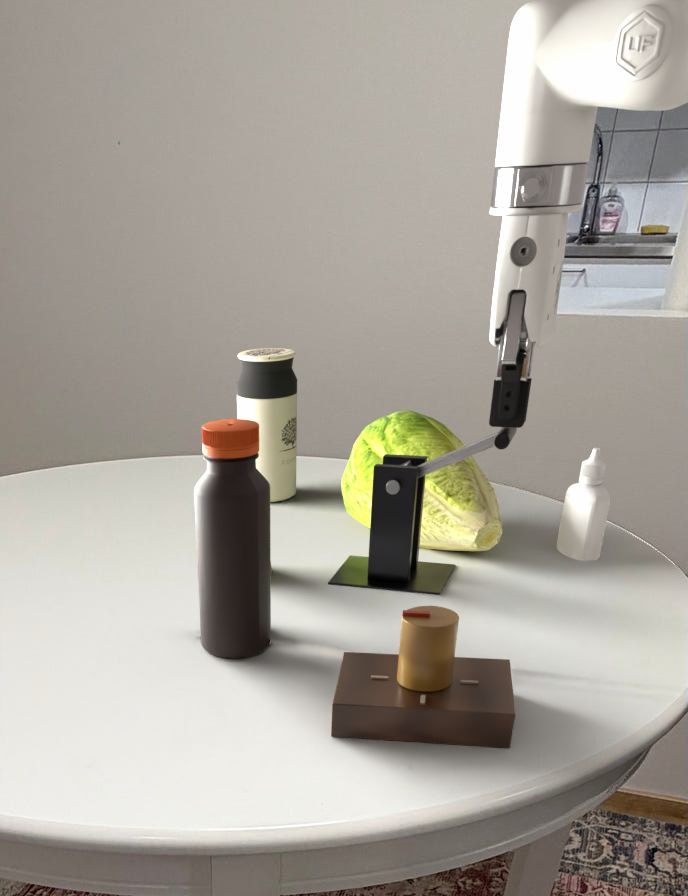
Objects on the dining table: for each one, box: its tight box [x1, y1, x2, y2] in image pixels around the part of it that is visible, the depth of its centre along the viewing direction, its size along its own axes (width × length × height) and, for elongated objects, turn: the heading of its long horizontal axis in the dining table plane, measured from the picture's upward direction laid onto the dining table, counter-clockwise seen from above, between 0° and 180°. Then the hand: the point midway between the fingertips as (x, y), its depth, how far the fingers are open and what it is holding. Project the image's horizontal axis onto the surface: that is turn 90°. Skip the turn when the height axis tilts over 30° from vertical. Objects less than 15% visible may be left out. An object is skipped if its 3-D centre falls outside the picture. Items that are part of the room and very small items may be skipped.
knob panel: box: [330, 651, 516, 749], centre depth 79 cm, size 14×10×3 cm
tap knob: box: [397, 605, 460, 692], centre depth 76 cm, size 4×4×6 cm
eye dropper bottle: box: [556, 447, 611, 562], centre depth 104 cm, size 4×6×12 cm
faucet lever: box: [400, 427, 518, 478], centre depth 95 cm, size 13×5×2 cm, turn 68°
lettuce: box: [340, 409, 504, 552], centre depth 111 cm, size 15×24×14 cm, turn 22°
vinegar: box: [193, 418, 272, 659], centre depth 87 cm, size 7×7×20 cm
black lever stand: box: [327, 454, 456, 596], centre depth 100 cm, size 12×9×13 cm
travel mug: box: [236, 347, 298, 503], centre depth 128 cm, size 8×8×18 cm
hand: (506, 424), depth 91 cm, fingers closed
